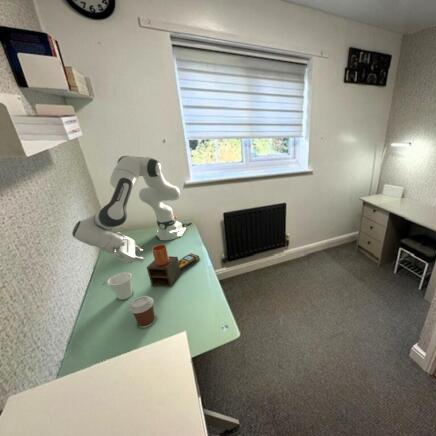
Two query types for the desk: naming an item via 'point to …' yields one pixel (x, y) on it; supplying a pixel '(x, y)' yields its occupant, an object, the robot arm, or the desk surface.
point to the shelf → (169, 271)
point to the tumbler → (160, 254)
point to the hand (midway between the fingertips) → (142, 255)
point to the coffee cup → (143, 311)
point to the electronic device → (187, 261)
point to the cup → (121, 285)
